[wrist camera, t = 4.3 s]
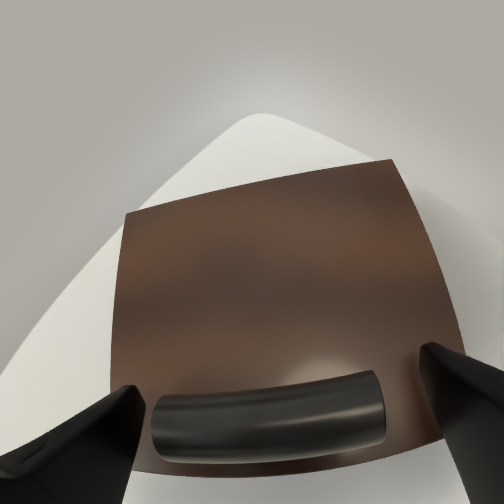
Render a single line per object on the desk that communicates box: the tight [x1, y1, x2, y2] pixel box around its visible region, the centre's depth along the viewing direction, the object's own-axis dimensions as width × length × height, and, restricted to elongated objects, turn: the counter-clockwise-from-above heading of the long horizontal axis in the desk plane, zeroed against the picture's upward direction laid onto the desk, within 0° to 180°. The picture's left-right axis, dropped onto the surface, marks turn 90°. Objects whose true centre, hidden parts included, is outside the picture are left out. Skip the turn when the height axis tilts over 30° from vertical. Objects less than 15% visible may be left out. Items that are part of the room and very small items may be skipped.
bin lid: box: [110, 159, 466, 478], centre depth 9 cm, size 12×13×5 cm
